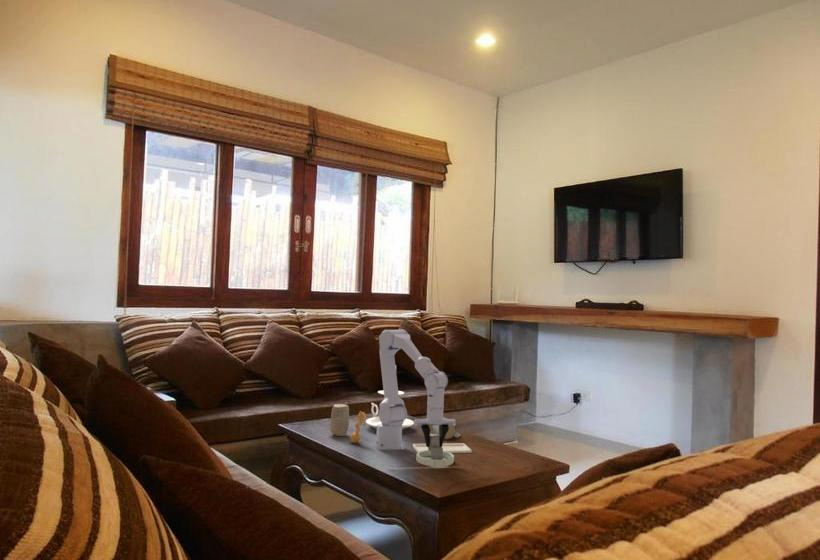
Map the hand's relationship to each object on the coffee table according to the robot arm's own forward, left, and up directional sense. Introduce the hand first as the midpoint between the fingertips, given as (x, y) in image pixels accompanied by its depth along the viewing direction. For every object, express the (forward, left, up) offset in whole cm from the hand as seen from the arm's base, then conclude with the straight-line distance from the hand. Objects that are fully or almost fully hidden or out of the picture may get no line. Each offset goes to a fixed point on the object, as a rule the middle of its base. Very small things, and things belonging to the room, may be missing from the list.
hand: (433, 446), depth 199 cm
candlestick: (-9, +48, -5) cm, 49 cm away
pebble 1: (0, 0, -1) cm, 1 cm away
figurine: (-24, +25, -5) cm, 35 cm away
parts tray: (+6, +12, -5) cm, 14 cm away
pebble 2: (0, -4, -4) cm, 6 cm away
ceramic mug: (+13, +31, -5) cm, 34 cm away
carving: (-30, +37, -5) cm, 48 cm away
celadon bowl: (0, -2, -5) cm, 5 cm away
